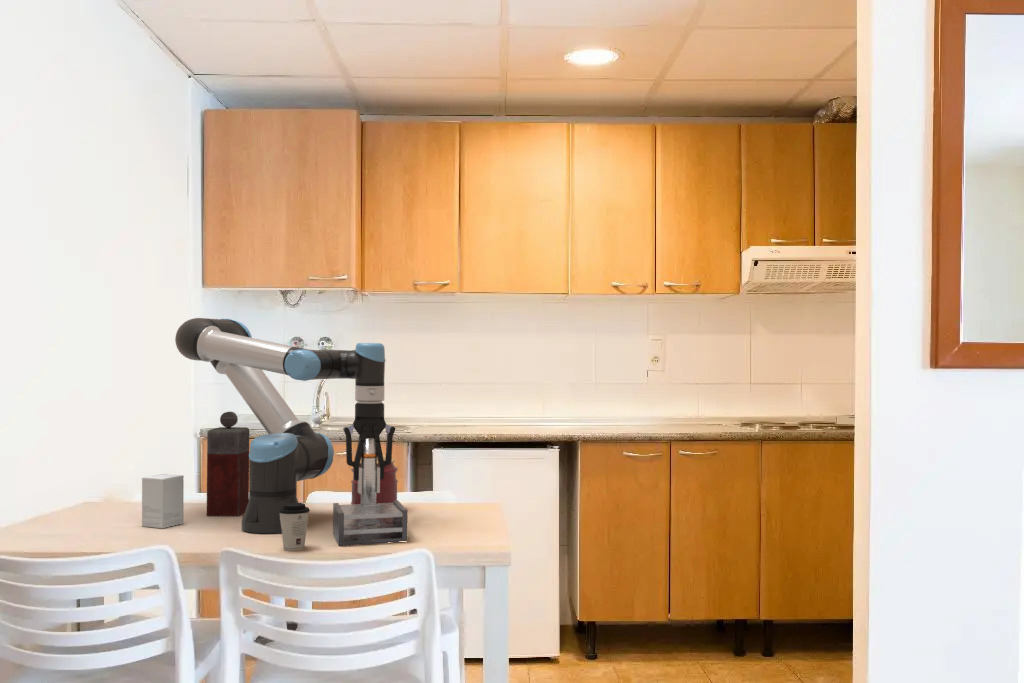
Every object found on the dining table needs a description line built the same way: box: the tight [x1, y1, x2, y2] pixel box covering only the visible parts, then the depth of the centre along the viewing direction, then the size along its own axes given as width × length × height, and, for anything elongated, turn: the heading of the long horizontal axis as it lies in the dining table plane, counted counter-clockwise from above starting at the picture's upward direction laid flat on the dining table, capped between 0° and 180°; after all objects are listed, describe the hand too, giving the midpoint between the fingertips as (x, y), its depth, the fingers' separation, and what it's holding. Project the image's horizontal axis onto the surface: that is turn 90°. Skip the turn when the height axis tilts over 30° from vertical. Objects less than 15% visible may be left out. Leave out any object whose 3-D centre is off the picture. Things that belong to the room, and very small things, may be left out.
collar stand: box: [332, 499, 409, 547], centre depth 212 cm, size 16×14×8 cm
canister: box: [350, 454, 399, 511], centre depth 247 cm, size 13×13×18 cm
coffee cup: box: [279, 502, 311, 552], centre depth 200 cm, size 7×7×10 cm
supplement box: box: [141, 473, 185, 529], centre depth 225 cm, size 7×7×13 cm
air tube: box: [361, 438, 377, 511], centre depth 228 cm, size 4×4×22 cm
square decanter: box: [206, 411, 250, 517], centre depth 243 cm, size 9×11×28 cm
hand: (368, 492), depth 228 cm, fingers closed on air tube, 4 cm apart
